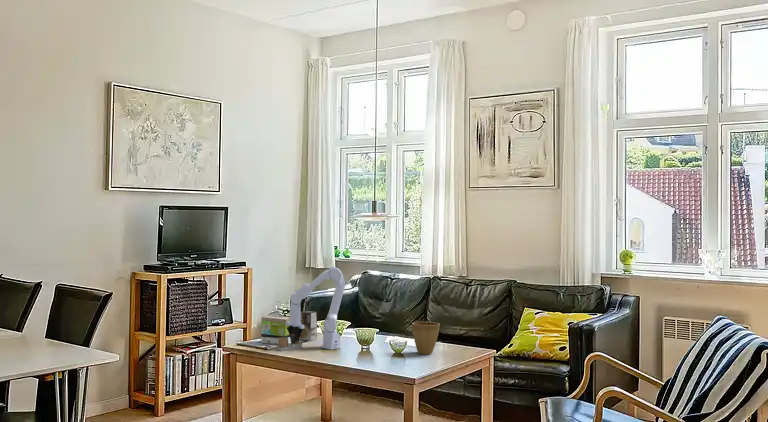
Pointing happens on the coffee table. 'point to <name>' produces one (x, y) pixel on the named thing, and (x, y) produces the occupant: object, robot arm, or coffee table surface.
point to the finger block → (293, 340)
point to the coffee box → (308, 325)
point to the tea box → (274, 329)
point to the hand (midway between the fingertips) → (294, 340)
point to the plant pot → (425, 336)
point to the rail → (290, 346)
